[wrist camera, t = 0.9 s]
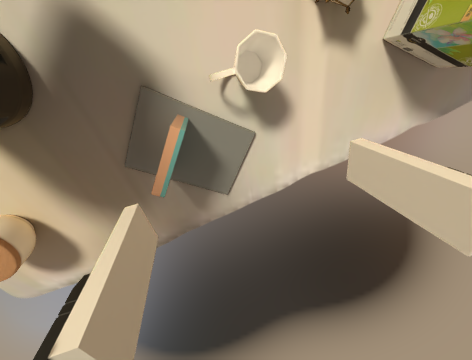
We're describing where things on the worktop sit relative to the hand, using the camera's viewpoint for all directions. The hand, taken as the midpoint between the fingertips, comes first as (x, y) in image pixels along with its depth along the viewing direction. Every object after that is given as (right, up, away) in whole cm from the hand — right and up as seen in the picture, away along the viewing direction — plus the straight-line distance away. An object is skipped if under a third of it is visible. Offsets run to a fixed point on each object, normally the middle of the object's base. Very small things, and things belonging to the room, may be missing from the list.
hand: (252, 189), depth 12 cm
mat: (-9, +6, +24) cm, 26 cm away
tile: (-12, +7, +22) cm, 26 cm away
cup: (-1, +18, +19) cm, 27 cm away
